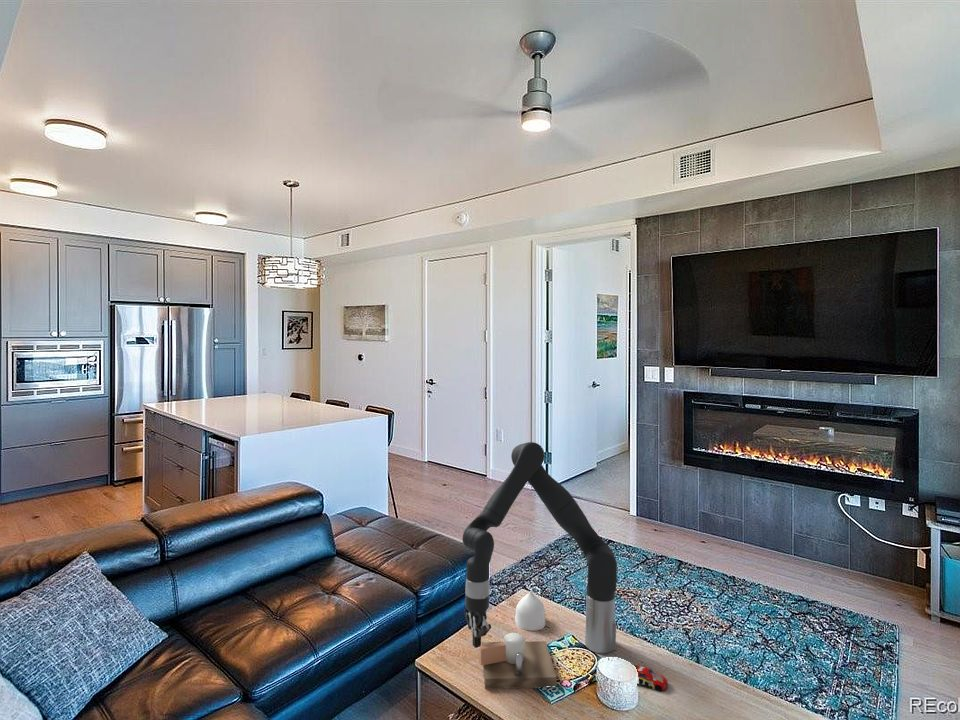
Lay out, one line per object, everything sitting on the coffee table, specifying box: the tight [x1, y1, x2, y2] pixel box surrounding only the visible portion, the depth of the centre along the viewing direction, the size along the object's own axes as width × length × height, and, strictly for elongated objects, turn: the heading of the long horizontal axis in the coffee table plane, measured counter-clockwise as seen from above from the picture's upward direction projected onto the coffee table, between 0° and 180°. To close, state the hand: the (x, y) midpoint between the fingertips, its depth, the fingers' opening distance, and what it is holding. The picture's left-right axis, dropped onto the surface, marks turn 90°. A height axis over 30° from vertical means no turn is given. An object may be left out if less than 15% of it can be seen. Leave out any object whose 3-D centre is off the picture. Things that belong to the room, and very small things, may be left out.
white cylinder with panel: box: [478, 632, 526, 666], centre depth 157 cm, size 14×6×6 cm, turn 107°
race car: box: [633, 664, 669, 692], centre depth 153 cm, size 13×5×4 cm, turn 64°
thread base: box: [481, 640, 558, 690], centre depth 158 cm, size 21×18×9 cm
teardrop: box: [514, 589, 546, 631], centre depth 184 cm, size 11×11×12 cm
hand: (476, 646), depth 160 cm, fingers closed
